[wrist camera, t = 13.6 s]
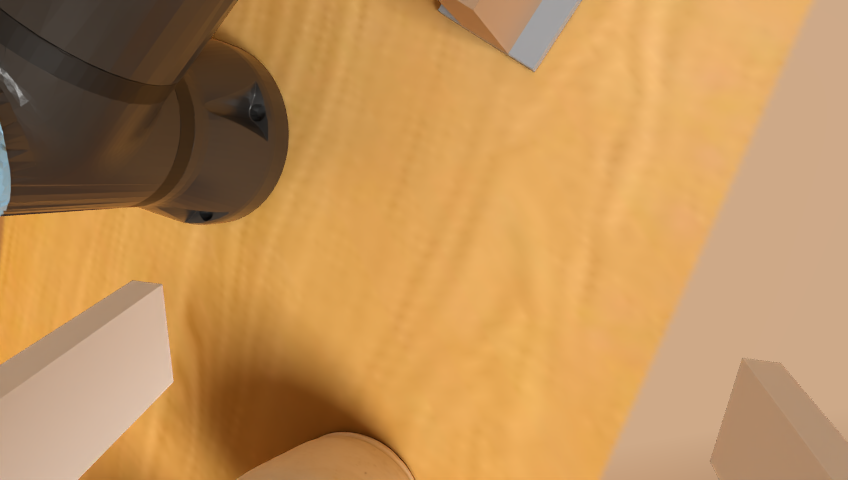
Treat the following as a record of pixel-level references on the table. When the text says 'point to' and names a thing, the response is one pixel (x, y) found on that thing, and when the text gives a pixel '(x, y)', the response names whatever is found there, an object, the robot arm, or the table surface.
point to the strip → (537, 31)
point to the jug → (334, 461)
